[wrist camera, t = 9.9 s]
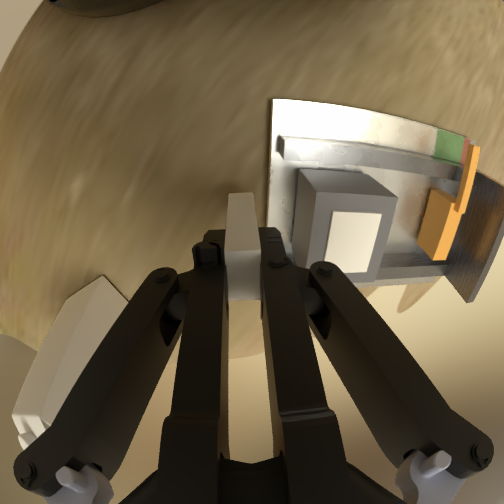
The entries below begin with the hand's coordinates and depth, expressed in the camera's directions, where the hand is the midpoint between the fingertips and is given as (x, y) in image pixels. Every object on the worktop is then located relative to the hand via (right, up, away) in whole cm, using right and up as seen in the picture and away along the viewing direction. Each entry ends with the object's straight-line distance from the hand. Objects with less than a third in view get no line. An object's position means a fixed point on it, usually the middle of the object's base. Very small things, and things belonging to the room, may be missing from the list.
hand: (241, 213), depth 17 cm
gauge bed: (+11, +1, +3) cm, 11 cm away
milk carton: (-15, -8, +8) cm, 19 cm away
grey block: (+6, 0, +2) cm, 6 cm away
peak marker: (+16, +2, +1) cm, 16 cm away
